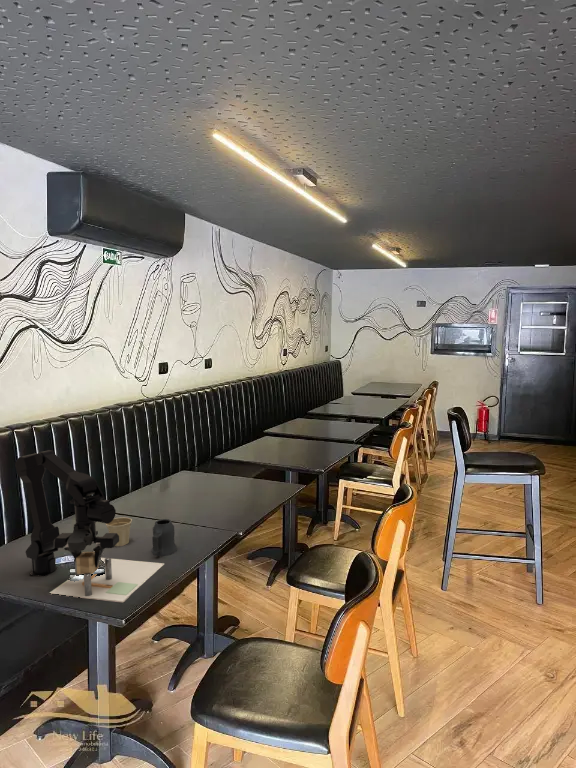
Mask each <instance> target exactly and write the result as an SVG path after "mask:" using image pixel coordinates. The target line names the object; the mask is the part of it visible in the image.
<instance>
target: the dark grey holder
mask: <svg viewBox="0 0 576 768" xmlns="http://www.w3.org/2000/svg"><path fill="white" fill-rule="evenodd" d="M177 551H178V548H177V545H176V543H175V525H174V523H173V522H172V520H171V519H167V518H163V519H157V520H156V521H154V524H153V527H152V549H151V554H152V555H153V556H156V557H167V556H171V555H173V554H175V553H176V552H177Z"/></svg>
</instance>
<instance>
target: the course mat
mask: <svg viewBox="0 0 576 768" xmlns="http://www.w3.org/2000/svg"><path fill="white" fill-rule="evenodd" d="M105 558H106V557H101V560H102V561H104V562H105ZM164 565H165V563H164V562H162V563H161V562H154V561H153V562H152V561H151V562H150V561H141V560H128V559H121V558H111V566H112V579H110V580H106V578H105V574H103V575H100V576H96V577H94V578H93V579H92V580H91V583H97V584H106V585H113V587H111V588H103V587H93V586H92V595H91V596H85V588H84V585H82V582H84V579H82V580H79V581H75V582H74V581H70V580H68V579H67V580H66V581H64V582H63V583H61V584H60V585H58V586H56V587H55V588H54V589H53V590H51V591H50V592H49V593H51V594H50V595H52V594H59V595H58V596H61V595H66V596H65V597H69V596H73V597H72V598H78V597H80V599H81V598H82V599H88V600H89V599H90V600H98V601H106V602H114V603H115V602H116V603H122V604H123V603H124V602H126V601H127V600H128V599H129V598H131V595H132V594H133V593H134V592H136V590H138V589H139V588H140V587H141V586H142V585H143V584H144V583H145V582H146V581H148V579H150V578H151V577H152V576H153V575H154V574H155V573H157V572H158V570H159V569H161V568H162V567H163V566H164Z"/></svg>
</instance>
